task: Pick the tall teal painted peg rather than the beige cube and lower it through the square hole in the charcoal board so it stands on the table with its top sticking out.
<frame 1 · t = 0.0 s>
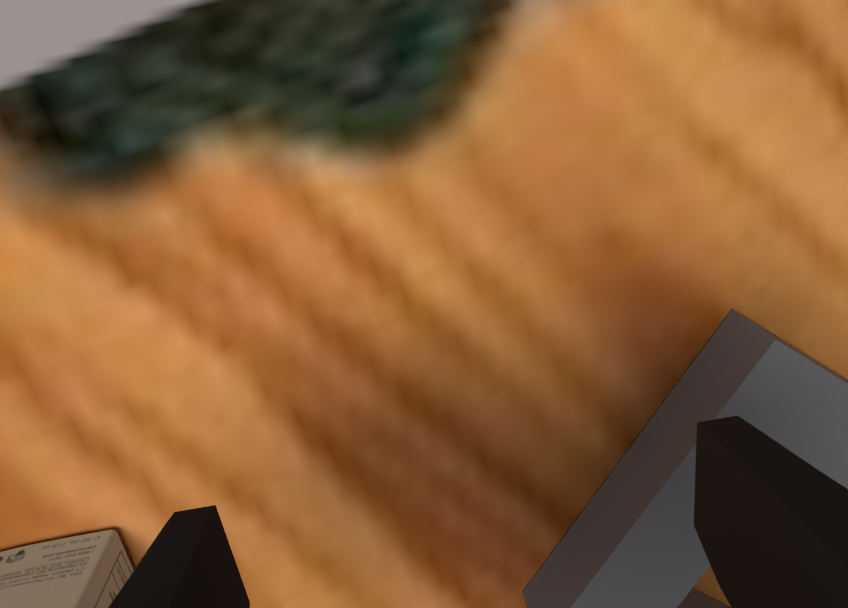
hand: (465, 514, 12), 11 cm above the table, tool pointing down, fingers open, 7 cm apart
hole board: (759, 532, 25), on the table
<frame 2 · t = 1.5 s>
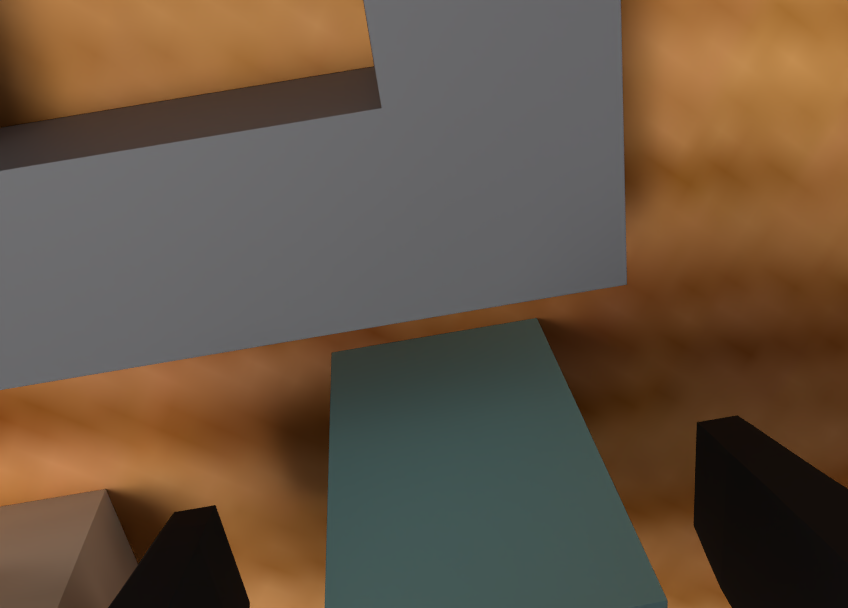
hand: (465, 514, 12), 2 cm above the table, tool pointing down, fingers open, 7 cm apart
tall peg: (447, 418, 14), on the table
beige cube: (45, 571, 15), on the table
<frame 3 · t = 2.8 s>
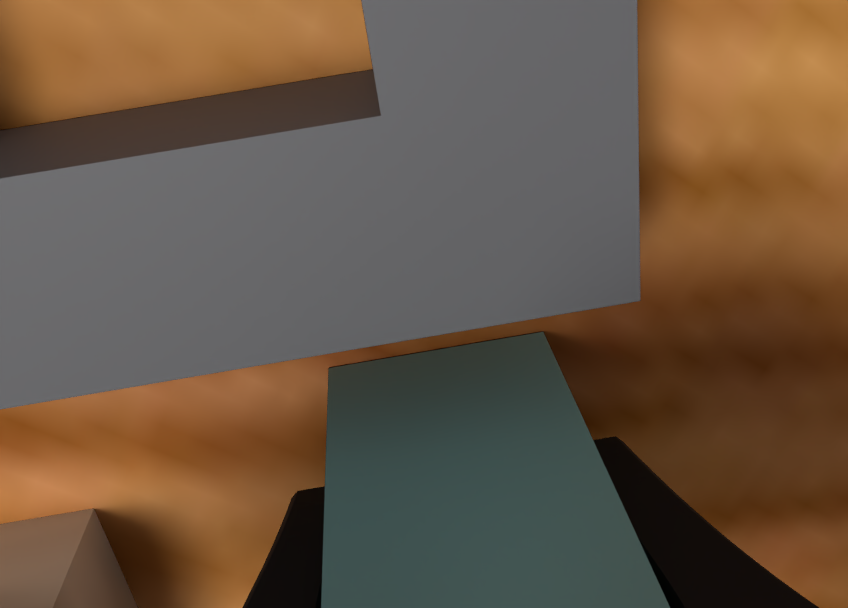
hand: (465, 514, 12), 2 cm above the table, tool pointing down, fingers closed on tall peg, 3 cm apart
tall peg: (449, 436, 13), on the table, touching gripper
beige cube: (31, 593, 14), on the table
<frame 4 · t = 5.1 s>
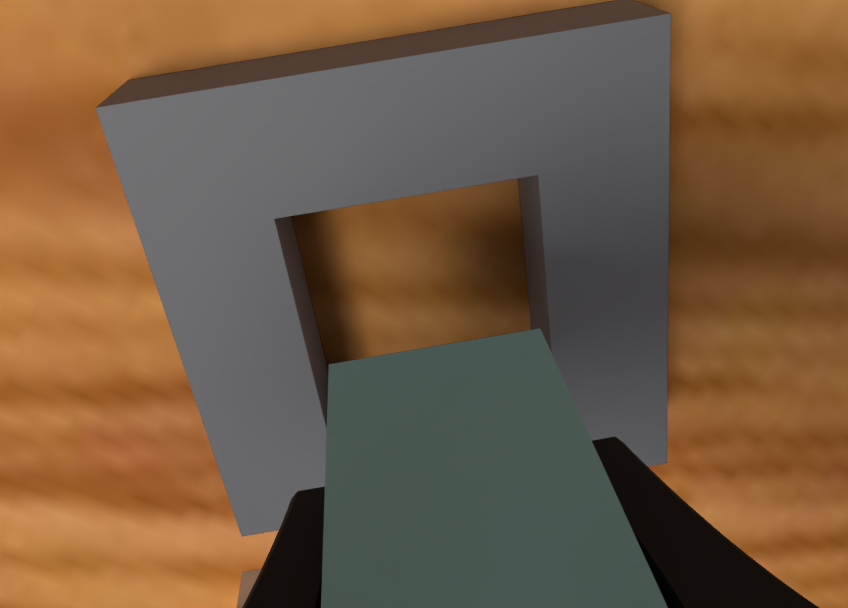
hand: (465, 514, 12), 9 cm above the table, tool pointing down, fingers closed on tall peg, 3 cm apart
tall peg: (448, 431, 14), point 7 cm above the table, touching gripper
beige cube: (310, 600, 25), on the table
hole board: (415, 265, 19), on the table
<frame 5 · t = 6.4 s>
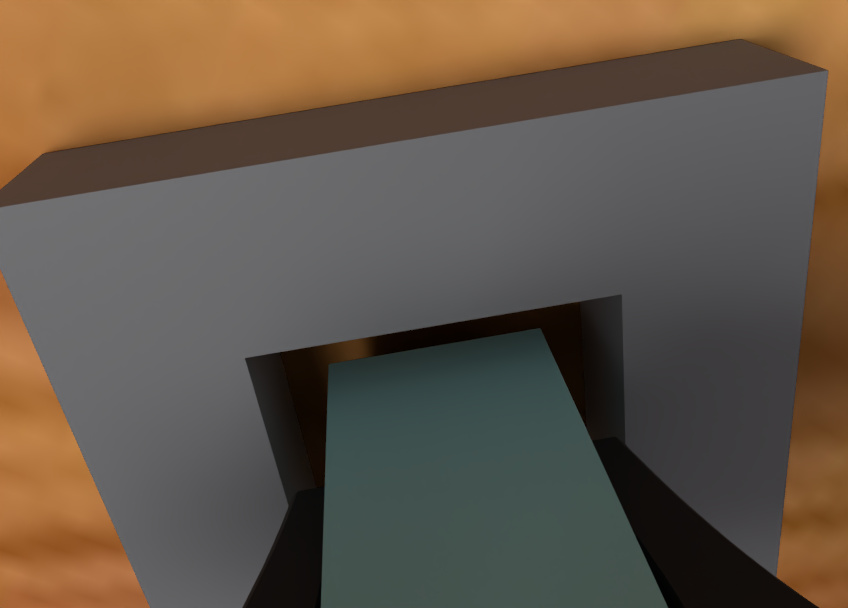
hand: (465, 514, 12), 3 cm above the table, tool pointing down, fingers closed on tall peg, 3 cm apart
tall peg: (448, 431, 14), point 1 cm above the table, touching gripper
hole board: (439, 386, 15), on the table
when the fingers open (3 cm above the table, at t = 7.5 s): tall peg drops 1 cm, resting in hole board.
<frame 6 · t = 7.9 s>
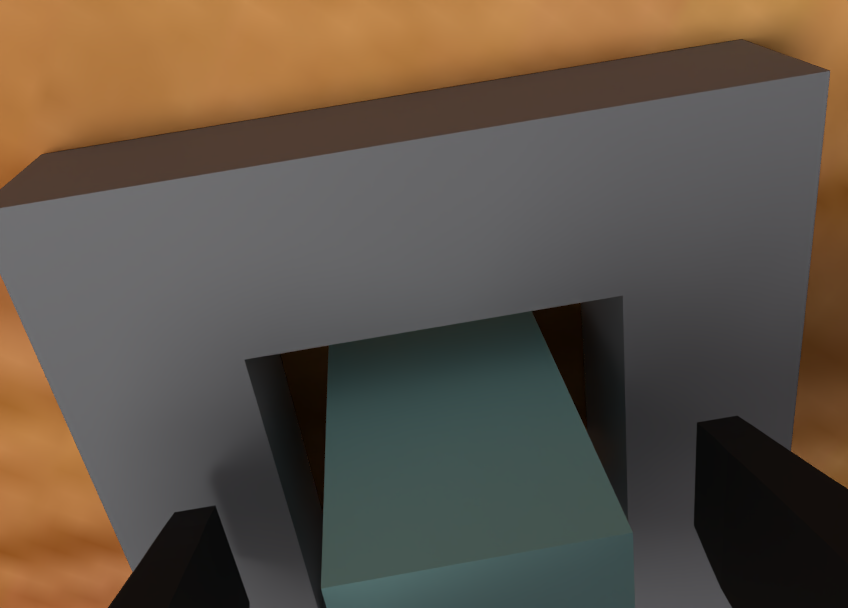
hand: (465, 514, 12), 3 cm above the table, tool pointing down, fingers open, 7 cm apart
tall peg: (439, 388, 15), resting in hole board
hole board: (440, 388, 15), on the table
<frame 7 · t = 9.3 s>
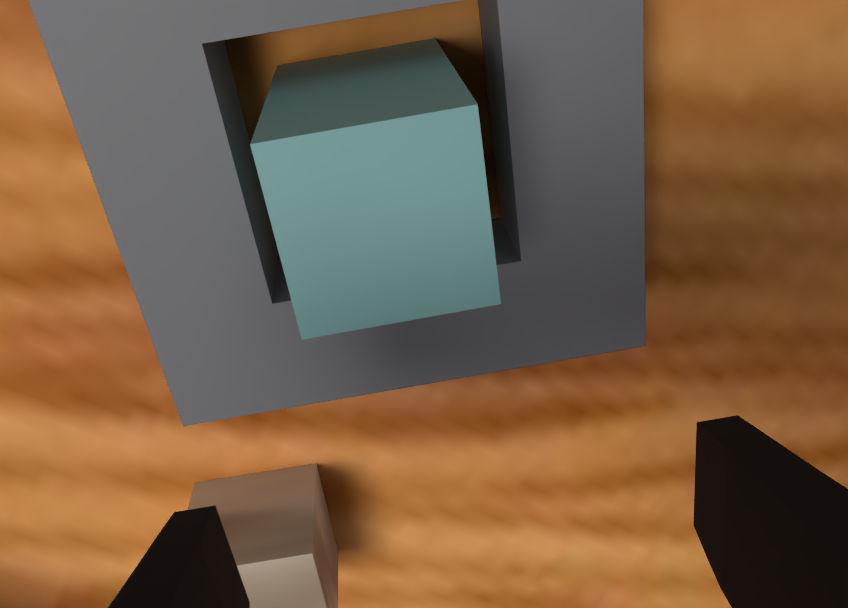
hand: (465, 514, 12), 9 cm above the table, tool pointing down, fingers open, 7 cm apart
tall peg: (370, 129, 18), resting in hole board
beige cube: (269, 516, 23), on the table
hole board: (371, 128, 18), on the table
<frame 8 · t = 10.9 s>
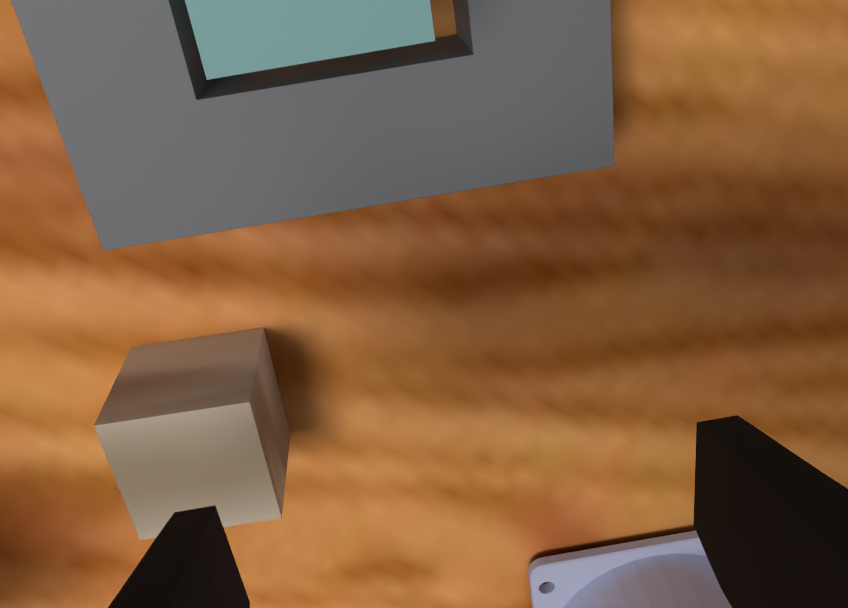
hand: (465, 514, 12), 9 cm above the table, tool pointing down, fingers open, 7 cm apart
beige cube: (214, 390, 21), on the table
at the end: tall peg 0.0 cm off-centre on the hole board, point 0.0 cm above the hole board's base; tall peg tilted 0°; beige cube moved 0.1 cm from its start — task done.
